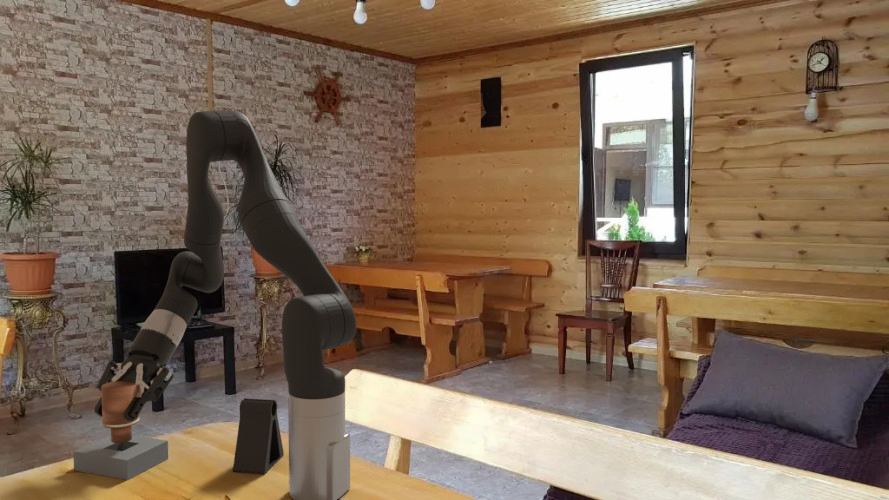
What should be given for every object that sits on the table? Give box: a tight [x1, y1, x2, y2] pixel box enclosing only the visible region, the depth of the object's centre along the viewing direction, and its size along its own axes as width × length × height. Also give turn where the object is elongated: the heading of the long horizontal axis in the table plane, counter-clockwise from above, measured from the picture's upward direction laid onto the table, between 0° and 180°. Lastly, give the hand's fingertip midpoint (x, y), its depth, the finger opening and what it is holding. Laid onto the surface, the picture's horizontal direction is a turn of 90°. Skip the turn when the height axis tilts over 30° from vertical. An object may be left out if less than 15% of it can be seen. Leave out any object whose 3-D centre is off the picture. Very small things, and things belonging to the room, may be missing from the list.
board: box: [73, 434, 169, 481], centre depth 126 cm, size 12×10×4 cm
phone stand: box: [232, 397, 285, 475], centre depth 126 cm, size 9×6×12 cm, turn 171°
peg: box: [100, 379, 140, 443], centre depth 125 cm, size 6×6×10 cm
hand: (113, 416), depth 123 cm, fingers closed on peg, 6 cm apart
